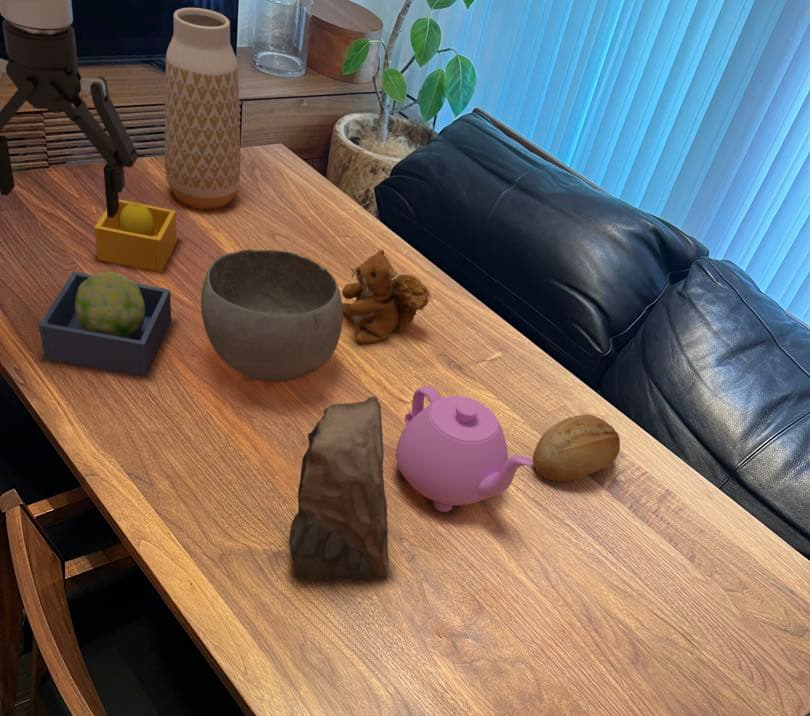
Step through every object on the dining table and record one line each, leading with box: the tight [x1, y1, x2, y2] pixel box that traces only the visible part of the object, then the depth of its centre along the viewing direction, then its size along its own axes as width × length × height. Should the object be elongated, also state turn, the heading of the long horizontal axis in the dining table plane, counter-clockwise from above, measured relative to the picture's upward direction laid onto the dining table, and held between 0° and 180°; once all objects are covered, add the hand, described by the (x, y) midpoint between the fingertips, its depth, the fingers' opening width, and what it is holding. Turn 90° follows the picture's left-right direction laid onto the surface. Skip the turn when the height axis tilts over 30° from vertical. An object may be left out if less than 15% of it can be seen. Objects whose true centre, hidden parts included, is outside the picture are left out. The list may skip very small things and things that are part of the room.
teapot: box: [395, 385, 534, 513], centre depth 109 cm, size 22×16×14 cm
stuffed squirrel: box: [341, 248, 433, 344], centre depth 132 cm, size 10×14×13 cm
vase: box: [164, 7, 241, 210], centre depth 144 cm, size 14×14×31 cm
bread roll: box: [532, 414, 621, 482], centre depth 119 cm, size 10×15×8 cm, turn 125°
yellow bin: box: [93, 199, 178, 273], centre depth 137 cm, size 11×11×6 cm
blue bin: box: [38, 271, 172, 378], centre depth 120 cm, size 15×15×6 cm
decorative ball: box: [75, 271, 145, 338], centre depth 118 cm, size 10×10×10 cm
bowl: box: [200, 249, 344, 383], centre depth 119 cm, size 21×20×15 cm
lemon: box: [120, 201, 154, 237], centre depth 135 cm, size 6×6×8 cm
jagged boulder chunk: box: [288, 395, 389, 581], centre depth 96 cm, size 13×13×20 cm
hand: (61, 202), depth 106 cm, fingers open, 13 cm apart
